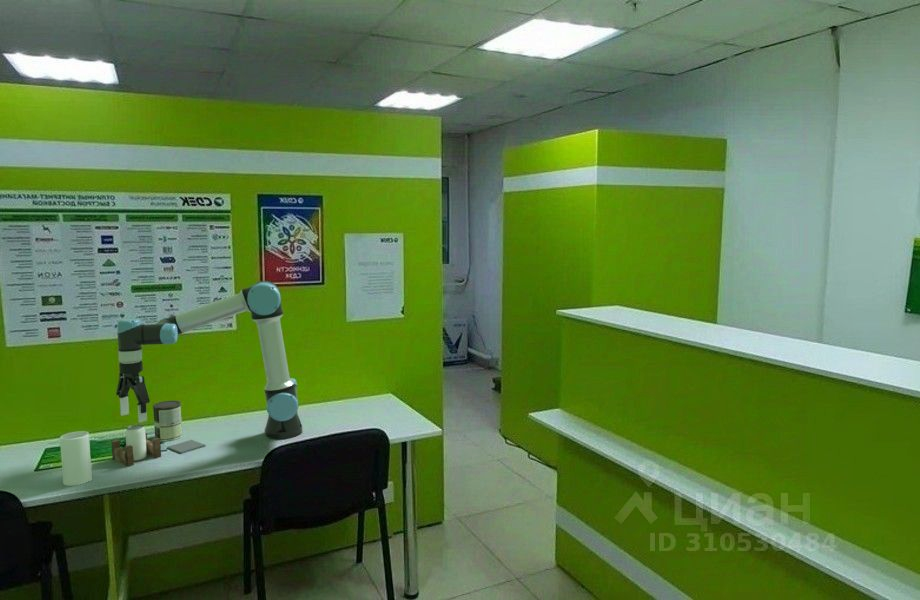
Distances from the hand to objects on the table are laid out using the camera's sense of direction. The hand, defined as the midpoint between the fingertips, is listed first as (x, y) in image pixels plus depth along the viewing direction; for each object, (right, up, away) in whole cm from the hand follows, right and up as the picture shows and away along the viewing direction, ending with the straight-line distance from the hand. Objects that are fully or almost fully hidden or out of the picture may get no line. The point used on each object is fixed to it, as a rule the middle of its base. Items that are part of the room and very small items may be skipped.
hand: (133, 418), depth 222 cm
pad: (+14, -14, +13) cm, 23 cm away
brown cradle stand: (0, -15, +2) cm, 15 cm away
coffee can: (+1, -13, +25) cm, 28 cm away
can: (0, -16, +2) cm, 16 cm away
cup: (-9, -18, -19) cm, 27 cm away
